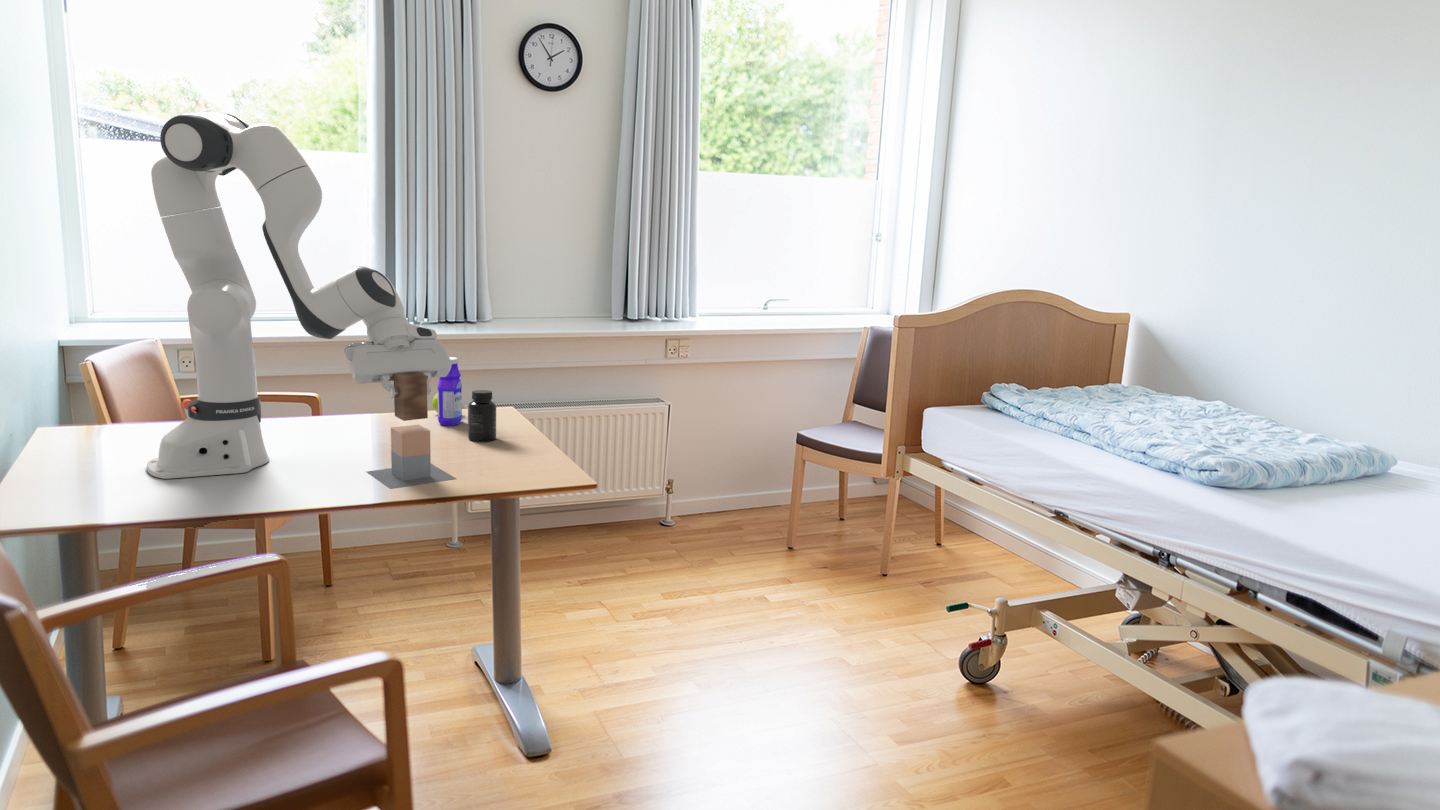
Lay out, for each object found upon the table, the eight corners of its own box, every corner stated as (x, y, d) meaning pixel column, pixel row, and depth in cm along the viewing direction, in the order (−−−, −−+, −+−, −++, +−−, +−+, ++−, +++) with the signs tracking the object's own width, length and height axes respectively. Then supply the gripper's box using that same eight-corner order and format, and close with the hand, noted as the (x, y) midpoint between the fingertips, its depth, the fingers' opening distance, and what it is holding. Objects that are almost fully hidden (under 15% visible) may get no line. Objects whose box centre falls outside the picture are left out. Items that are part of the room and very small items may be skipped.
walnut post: (403, 420, 186) (402, 377, 184) (394, 416, 190) (393, 373, 188) (427, 418, 190) (426, 375, 188) (418, 413, 193) (417, 371, 191)
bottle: (456, 426, 237) (456, 360, 234) (434, 425, 237) (434, 359, 234) (464, 420, 244) (464, 356, 241) (443, 419, 244) (443, 355, 241)
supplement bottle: (501, 439, 227) (502, 392, 224) (477, 443, 222) (477, 395, 220) (486, 434, 231) (486, 387, 229) (462, 438, 226) (462, 390, 224)
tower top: (402, 457, 187) (401, 433, 186) (391, 450, 192) (390, 427, 191) (430, 453, 191) (430, 430, 190) (419, 447, 195) (418, 424, 194)
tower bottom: (402, 480, 188) (402, 457, 187) (391, 473, 193) (391, 450, 192) (430, 476, 192) (430, 453, 191) (419, 469, 196) (419, 447, 195)
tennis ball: (457, 417, 248) (457, 393, 246) (431, 417, 246) (431, 393, 245) (458, 412, 254) (458, 388, 253) (433, 412, 253) (433, 388, 251)
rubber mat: (390, 490, 183) (390, 488, 183) (365, 473, 193) (365, 471, 193) (456, 480, 192) (456, 478, 192) (430, 464, 202) (430, 463, 202)
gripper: (345, 334, 185) (363, 390, 180) (442, 329, 198) (462, 381, 193) (339, 353, 189) (356, 408, 184) (434, 347, 202) (453, 398, 197)
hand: (411, 394), depth 188 cm, fingers closed on walnut post, 5 cm apart
